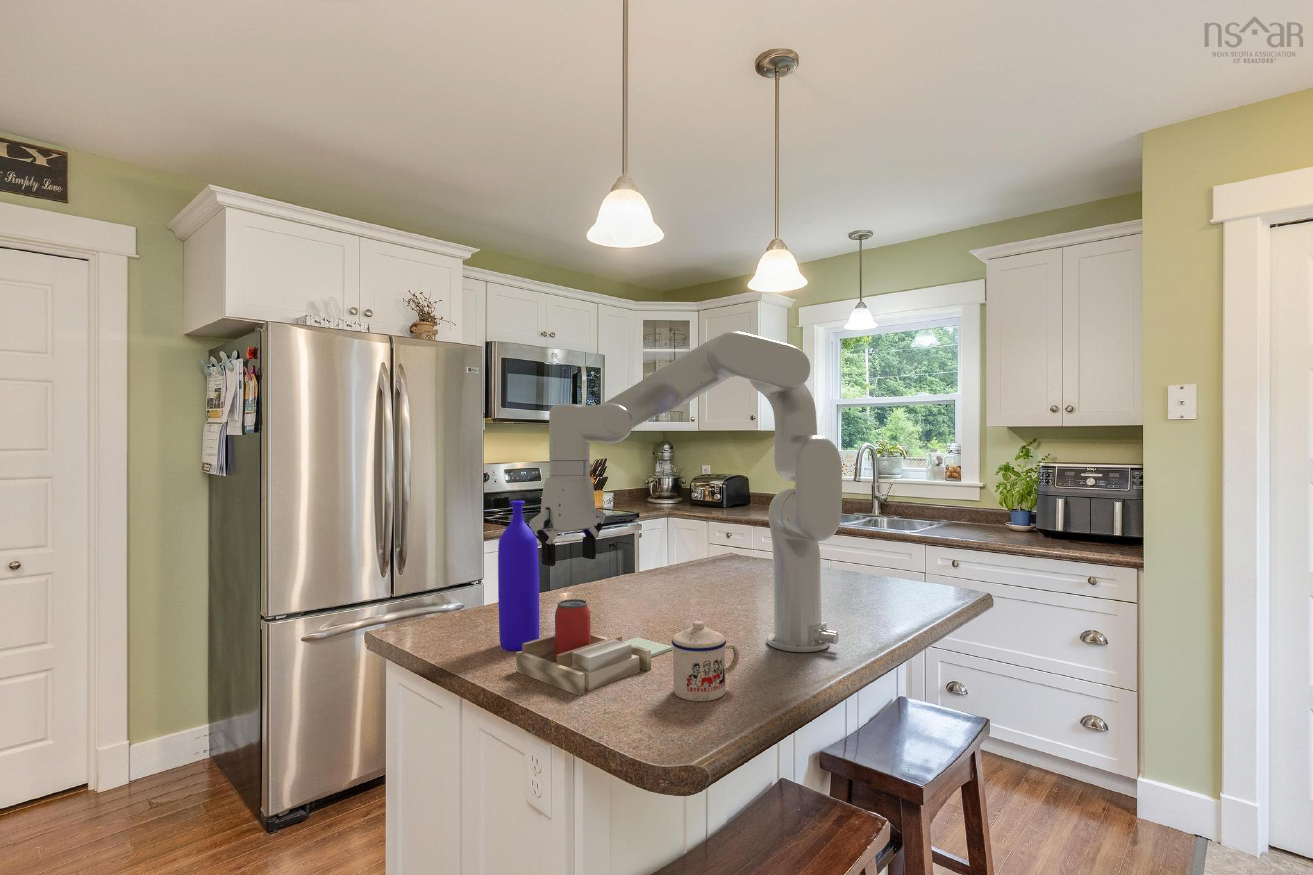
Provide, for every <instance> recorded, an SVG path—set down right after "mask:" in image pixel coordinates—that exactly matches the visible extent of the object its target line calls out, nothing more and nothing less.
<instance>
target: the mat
mask: <svg viewBox="0 0 1313 875" xmlns="http://www.w3.org/2000/svg"><path fill="white" fill-rule="evenodd" d="M623 642H626V643H629V644H632V645H635V646H638V647H642V648H646V649H649V650H651V658H654V657H656V656H659V655H661V654H665V653H667V652H670V651H673V645H668V644H663V643H661V642H656V641H652V640H649V639H645V638H641V637H638V636H637V637H634V638H631V639H629V640H625V641H623Z"/></svg>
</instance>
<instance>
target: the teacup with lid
mask: <svg viewBox="0 0 1313 875" xmlns="http://www.w3.org/2000/svg"><path fill="white" fill-rule="evenodd" d="M671 644H672V647H673V650H672V654H673V656H672V657H673V659H672V660H673V662H672V663H673V669H672V670H673V692H674V694H675V695H676V696H677V697H678V698H681V699H683V700H687V701H691V702H692V701H693V702H708V701H709V702H710V701H713V700H718V699H719V698H722V697H723V696H724V695H725V694H726V687H727V686H726V685H727V684H726V675H728V674H730V673H732V672H733V671H735V669H736V668H737V666H738V663H739V662H740V661H739V660H740V651H739V648H738V647H737V646H735V644H732V643H730V642H729V643H727V640H726V637H725V635H724V634H722V633H720V632H718V631H716V630H712V629H711V628H709V627H706V626H705V622H704V621H702V620H695V621H693V622H692V626H690V627H688V628H686V629H685V630H683V631H679V632H677V633H675V634H674V635H673V636H672V638H671ZM727 649H731V650H732V651H733V658H732V661H731V663H730V664H729V665H728V667H726V650H727Z"/></svg>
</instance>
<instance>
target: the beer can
mask: <svg viewBox="0 0 1313 875" xmlns="http://www.w3.org/2000/svg"><path fill="white" fill-rule="evenodd" d="M591 633H592V632H591V610H590V608H589V606H588V601H587V600H584V599H580V598H579V599H578V598H577V599H575V598H574V599H573V598H570V599H564V600H561V601H558V602H557V607H556V609H555V612H554V634H555V663H557V656H556V655H558V654H561V653H564V652H567V651H571V650H574V649H577V648H580V647H584V646H587V645H590V644H591Z"/></svg>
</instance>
